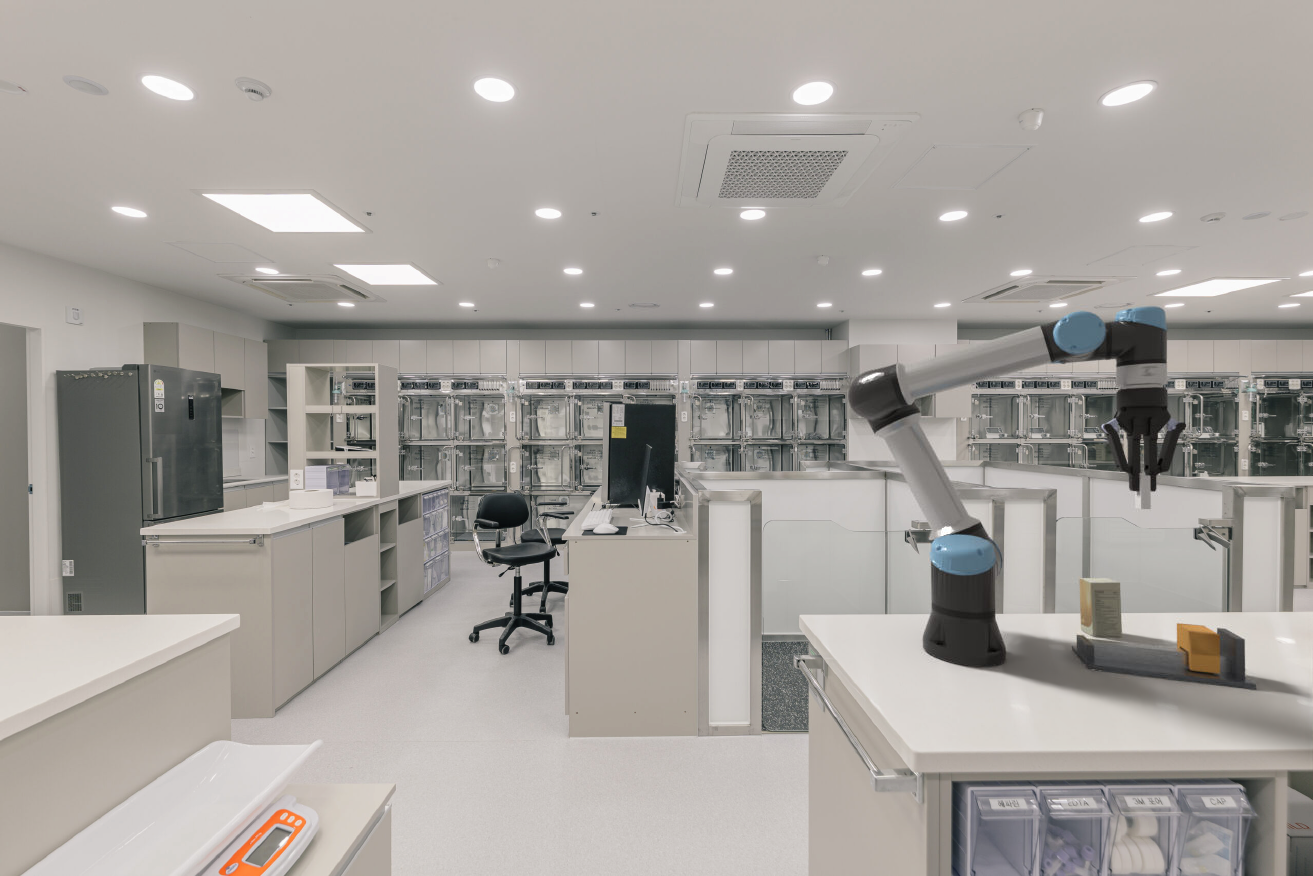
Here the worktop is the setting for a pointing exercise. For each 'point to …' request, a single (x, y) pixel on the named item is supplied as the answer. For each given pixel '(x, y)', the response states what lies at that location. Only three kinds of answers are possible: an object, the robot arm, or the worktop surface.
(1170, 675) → the rail
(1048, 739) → the worktop surface
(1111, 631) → the skincare box
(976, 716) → the worktop surface
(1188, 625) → the orange slider block
